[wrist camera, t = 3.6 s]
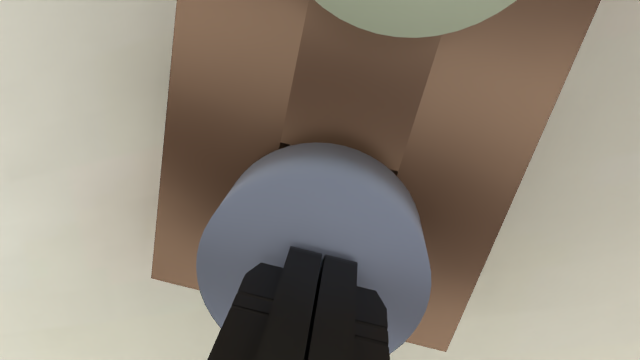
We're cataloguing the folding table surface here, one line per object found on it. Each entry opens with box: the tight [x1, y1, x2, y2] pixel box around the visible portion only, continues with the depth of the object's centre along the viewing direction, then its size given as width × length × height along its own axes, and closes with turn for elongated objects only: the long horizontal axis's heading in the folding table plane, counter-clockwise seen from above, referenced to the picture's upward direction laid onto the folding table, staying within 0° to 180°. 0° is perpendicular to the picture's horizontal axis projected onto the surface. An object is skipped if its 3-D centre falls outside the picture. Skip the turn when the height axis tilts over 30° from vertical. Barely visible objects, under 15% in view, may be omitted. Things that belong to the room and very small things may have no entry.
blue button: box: [196, 142, 431, 354], centre depth 12 cm, size 5×5×5 cm
